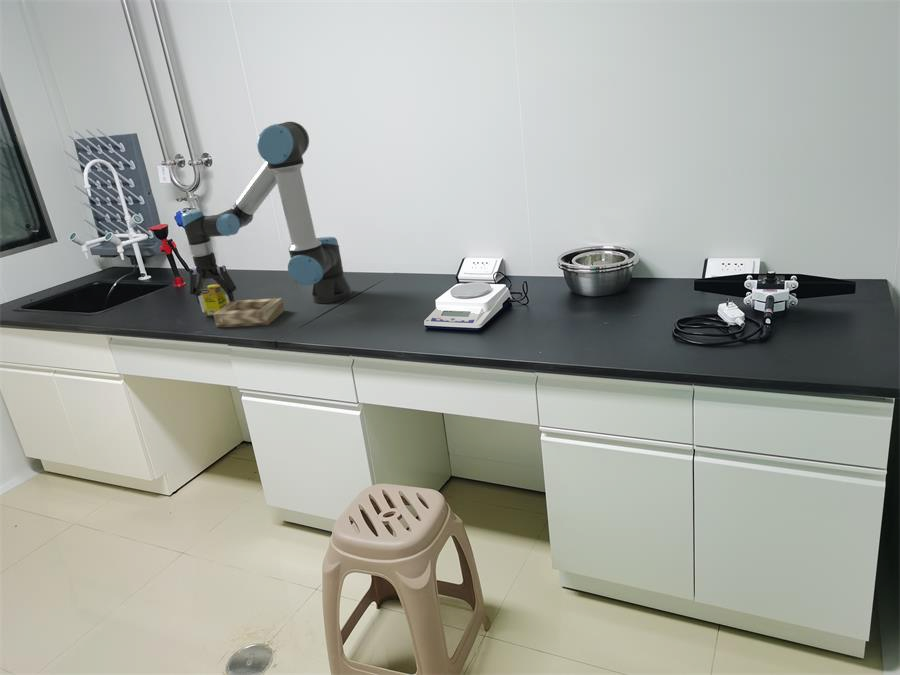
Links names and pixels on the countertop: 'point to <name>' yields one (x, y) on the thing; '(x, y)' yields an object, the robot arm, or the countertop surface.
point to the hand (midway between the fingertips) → (218, 310)
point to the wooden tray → (249, 312)
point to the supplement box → (214, 299)
